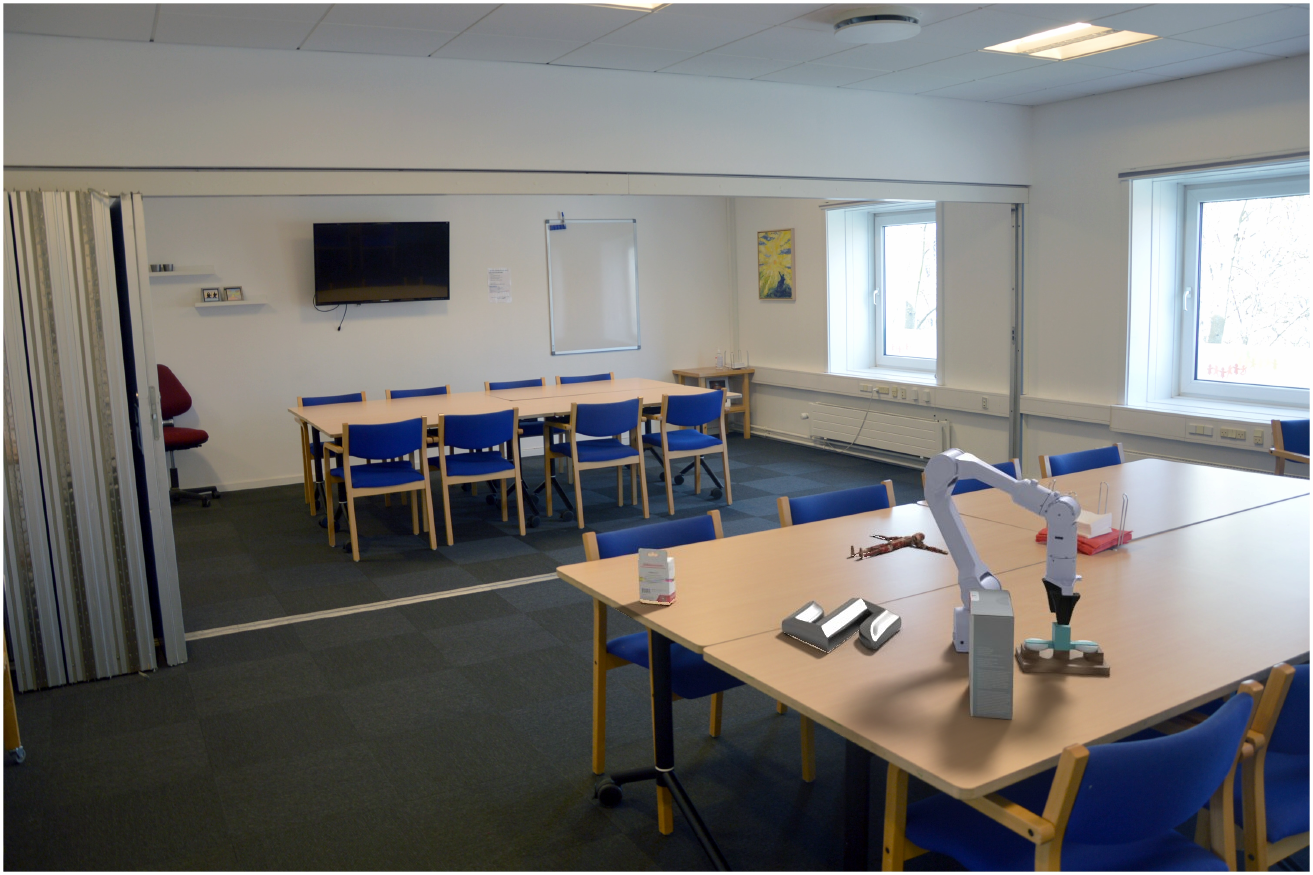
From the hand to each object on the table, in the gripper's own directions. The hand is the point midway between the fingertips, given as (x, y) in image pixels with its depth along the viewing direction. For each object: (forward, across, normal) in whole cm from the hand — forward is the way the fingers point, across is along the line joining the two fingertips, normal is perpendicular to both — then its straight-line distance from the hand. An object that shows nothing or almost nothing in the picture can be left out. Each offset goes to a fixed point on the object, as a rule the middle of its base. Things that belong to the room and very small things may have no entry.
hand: (1059, 618), depth 200 cm
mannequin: (+10, +88, +32) cm, 94 cm away
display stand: (+9, -1, 0) cm, 9 cm away
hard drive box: (+10, -23, +16) cm, 30 cm away
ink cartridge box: (+10, +30, +92) cm, 97 cm away
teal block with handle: (+6, -1, 0) cm, 6 cm away
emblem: (+10, +13, +45) cm, 48 cm away
